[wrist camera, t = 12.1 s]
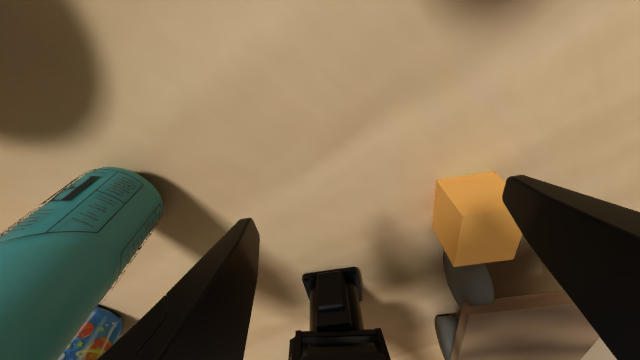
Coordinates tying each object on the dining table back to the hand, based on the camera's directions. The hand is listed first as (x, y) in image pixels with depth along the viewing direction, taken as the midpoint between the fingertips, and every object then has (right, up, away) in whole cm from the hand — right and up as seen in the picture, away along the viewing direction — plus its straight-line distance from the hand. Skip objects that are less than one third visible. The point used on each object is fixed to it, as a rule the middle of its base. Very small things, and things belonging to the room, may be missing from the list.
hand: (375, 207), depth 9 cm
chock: (+12, -1, +16) cm, 20 cm away
